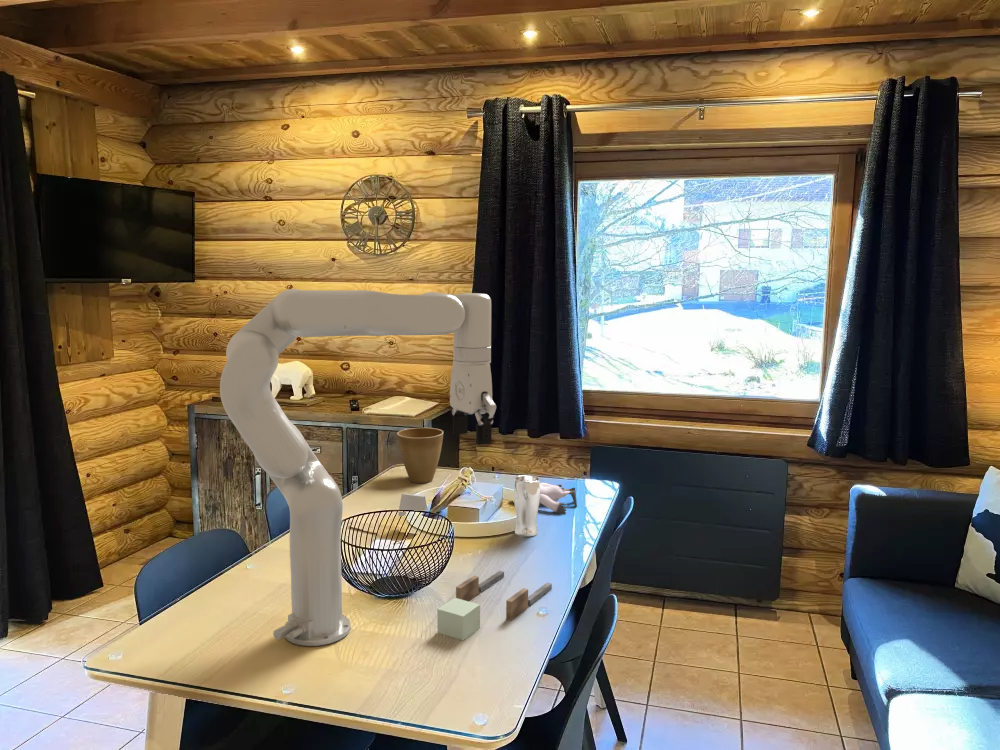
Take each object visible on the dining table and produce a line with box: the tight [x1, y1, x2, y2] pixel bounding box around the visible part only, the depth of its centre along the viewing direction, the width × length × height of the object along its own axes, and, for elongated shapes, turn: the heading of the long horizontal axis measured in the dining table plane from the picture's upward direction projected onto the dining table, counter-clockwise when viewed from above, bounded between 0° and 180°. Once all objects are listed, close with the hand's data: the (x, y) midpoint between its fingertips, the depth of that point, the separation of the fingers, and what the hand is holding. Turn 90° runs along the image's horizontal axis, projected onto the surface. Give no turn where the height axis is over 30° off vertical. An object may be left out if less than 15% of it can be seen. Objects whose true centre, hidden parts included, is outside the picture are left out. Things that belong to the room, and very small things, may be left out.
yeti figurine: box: [539, 482, 578, 515], centre depth 234 cm, size 20×7×20 cm
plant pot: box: [396, 427, 444, 484], centre depth 255 cm, size 15×15×16 cm
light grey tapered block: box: [398, 493, 429, 517], centre depth 208 cm, size 4×7×10 cm, turn 70°
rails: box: [479, 570, 553, 606], centre depth 173 cm, size 10×13×1 cm
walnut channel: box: [455, 575, 529, 621], centre depth 164 cm, size 7×13×4 cm, turn 59°
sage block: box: [437, 597, 481, 641], centre depth 154 cm, size 6×6×5 cm
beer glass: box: [513, 474, 541, 538], centre depth 207 cm, size 7×7×15 cm
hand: (471, 438), depth 160 cm, fingers open, 9 cm apart
